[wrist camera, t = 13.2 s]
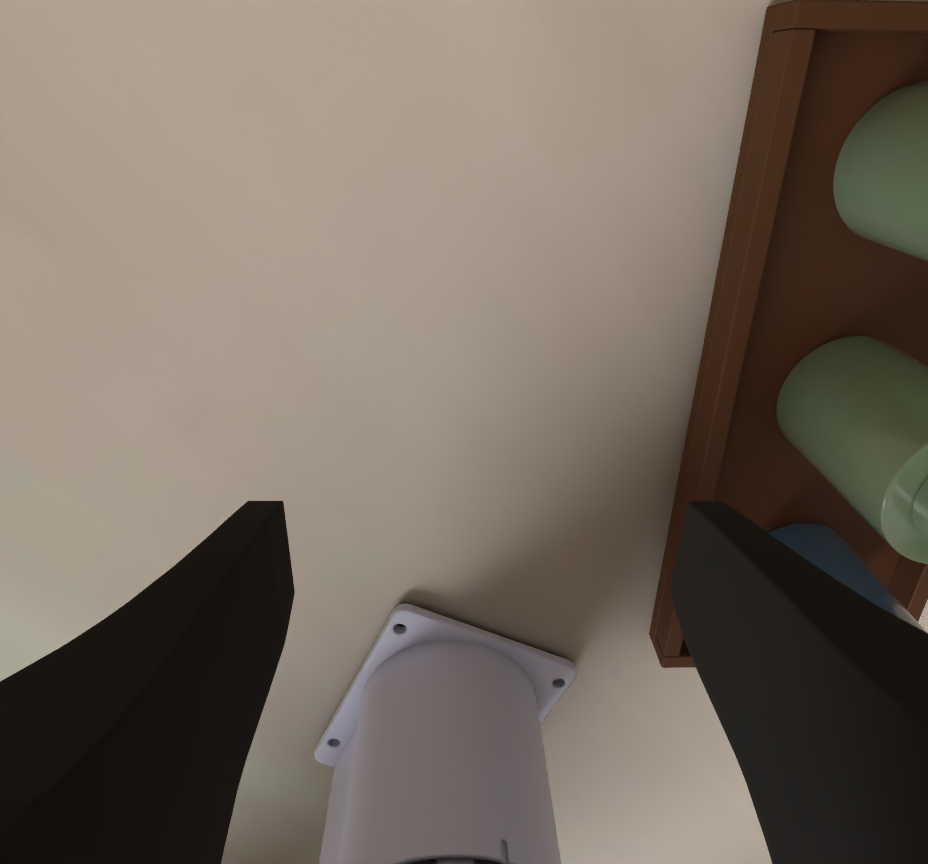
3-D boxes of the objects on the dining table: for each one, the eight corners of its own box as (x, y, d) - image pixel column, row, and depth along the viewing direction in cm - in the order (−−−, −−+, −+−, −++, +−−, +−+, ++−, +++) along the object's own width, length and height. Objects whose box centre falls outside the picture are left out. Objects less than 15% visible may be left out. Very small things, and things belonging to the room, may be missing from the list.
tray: (873, 632, 27) (900, 666, 26) (648, 634, 27) (661, 668, 26) (1112, 14, 18) (1179, 7, 16) (765, 6, 17) (798, -2, 16)
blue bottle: (832, 612, 26) (1004, 845, 18) (724, 612, 26) (850, 848, 18) (863, 522, 24) (1071, 738, 16) (747, 522, 24) (899, 740, 16)
